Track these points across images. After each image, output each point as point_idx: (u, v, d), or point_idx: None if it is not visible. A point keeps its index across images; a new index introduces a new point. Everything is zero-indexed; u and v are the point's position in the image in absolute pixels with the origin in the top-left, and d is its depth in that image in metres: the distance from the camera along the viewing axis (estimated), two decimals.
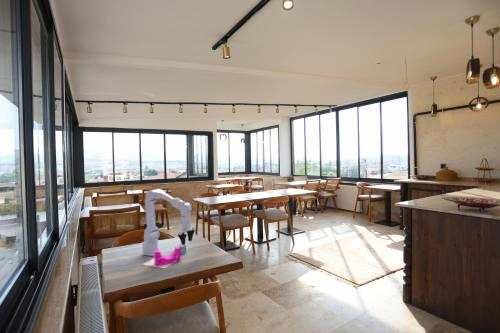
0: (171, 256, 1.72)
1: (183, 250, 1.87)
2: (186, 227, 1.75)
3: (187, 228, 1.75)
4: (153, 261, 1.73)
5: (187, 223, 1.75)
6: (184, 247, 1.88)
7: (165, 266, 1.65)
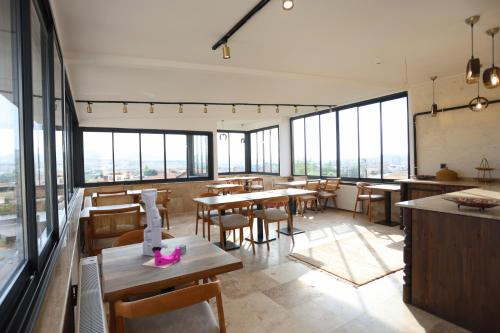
0: (171, 256, 1.72)
1: (183, 250, 1.87)
2: (152, 242, 1.73)
3: (152, 243, 1.73)
4: (153, 261, 1.73)
5: (152, 238, 1.72)
6: (184, 247, 1.88)
7: (165, 266, 1.65)
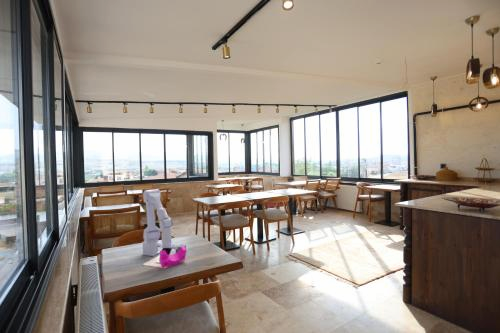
0: (177, 256, 1.70)
1: None
2: None
3: (162, 244, 1.70)
4: (153, 261, 1.73)
5: None
6: None
7: None
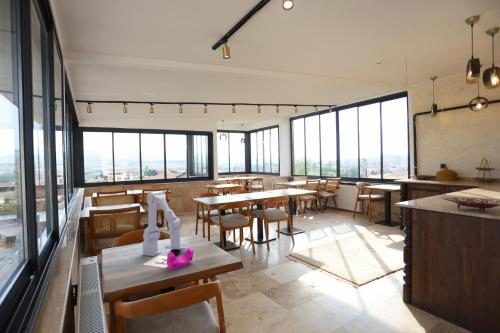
0: (184, 258, 1.67)
1: (183, 250, 1.87)
2: None
3: (170, 245, 1.68)
4: (153, 261, 1.73)
5: None
6: None
7: (165, 266, 1.65)
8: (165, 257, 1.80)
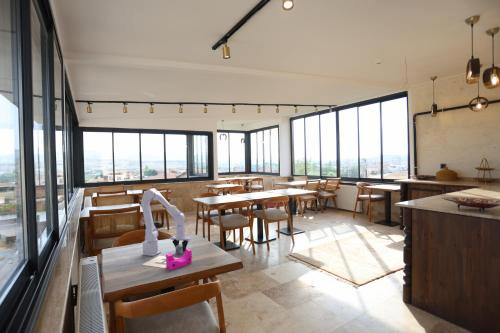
0: (183, 259, 1.68)
1: None
2: (176, 235, 1.87)
3: (176, 237, 1.87)
4: (153, 261, 1.73)
5: (176, 232, 1.86)
6: None
7: (165, 266, 1.65)
8: (165, 257, 1.80)
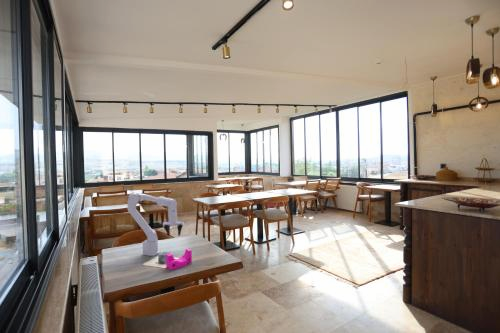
0: (183, 259, 1.68)
1: None
2: (169, 221, 1.92)
3: (169, 222, 1.91)
4: (153, 261, 1.73)
5: (169, 217, 1.91)
6: None
7: (165, 266, 1.65)
8: None
